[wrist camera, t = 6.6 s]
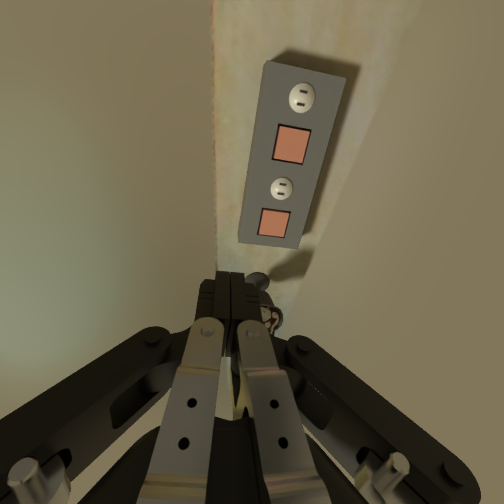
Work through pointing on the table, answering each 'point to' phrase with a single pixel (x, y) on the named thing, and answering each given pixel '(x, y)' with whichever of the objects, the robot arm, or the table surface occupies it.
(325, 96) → the power strip
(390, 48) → the table surface
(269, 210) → the switch
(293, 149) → the switch
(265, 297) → the sundae
